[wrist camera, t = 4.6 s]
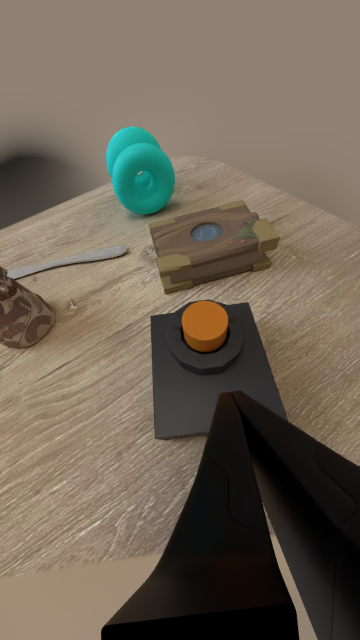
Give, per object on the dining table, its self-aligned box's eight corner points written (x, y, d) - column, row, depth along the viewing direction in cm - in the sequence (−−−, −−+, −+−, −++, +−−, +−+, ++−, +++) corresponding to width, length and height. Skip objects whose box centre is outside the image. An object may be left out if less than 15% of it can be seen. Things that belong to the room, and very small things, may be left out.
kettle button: (230, 349, 17) (233, 336, 15) (186, 355, 17) (184, 343, 15) (221, 312, 19) (223, 297, 17) (181, 318, 19) (179, 303, 17)
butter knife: (126, 256, 32) (125, 242, 33) (-48, 291, 32) (-42, 276, 33) (127, 259, 32) (126, 245, 34) (-44, 293, 32) (-38, 278, 34)
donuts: (126, 224, 37) (102, 157, 28) (117, 195, 42) (94, 132, 33) (180, 208, 38) (172, 139, 29) (164, 182, 43) (155, 117, 34)
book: (165, 295, 28) (158, 268, 24) (150, 243, 34) (142, 213, 29) (269, 267, 29) (280, 236, 24) (237, 221, 34) (242, 189, 30)
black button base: (272, 426, 19) (298, 419, 14) (163, 440, 19) (149, 438, 14) (241, 322, 25) (251, 290, 20) (158, 334, 25) (146, 305, 20)
